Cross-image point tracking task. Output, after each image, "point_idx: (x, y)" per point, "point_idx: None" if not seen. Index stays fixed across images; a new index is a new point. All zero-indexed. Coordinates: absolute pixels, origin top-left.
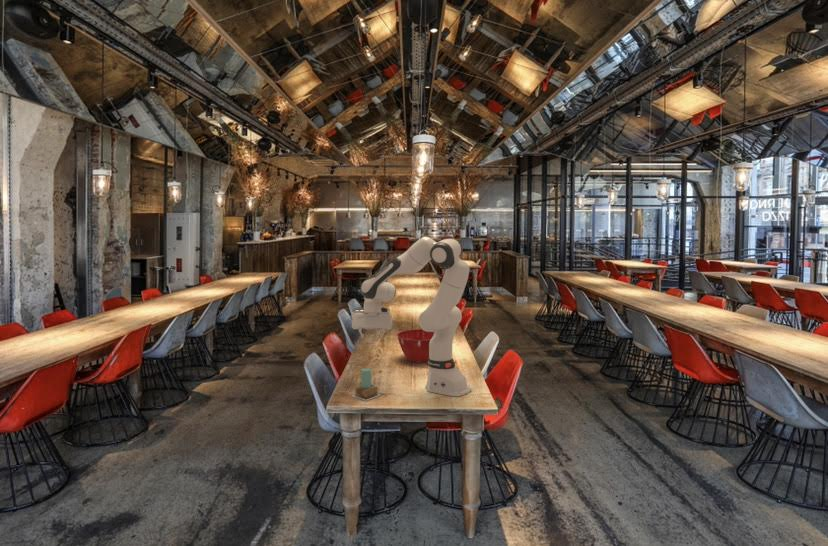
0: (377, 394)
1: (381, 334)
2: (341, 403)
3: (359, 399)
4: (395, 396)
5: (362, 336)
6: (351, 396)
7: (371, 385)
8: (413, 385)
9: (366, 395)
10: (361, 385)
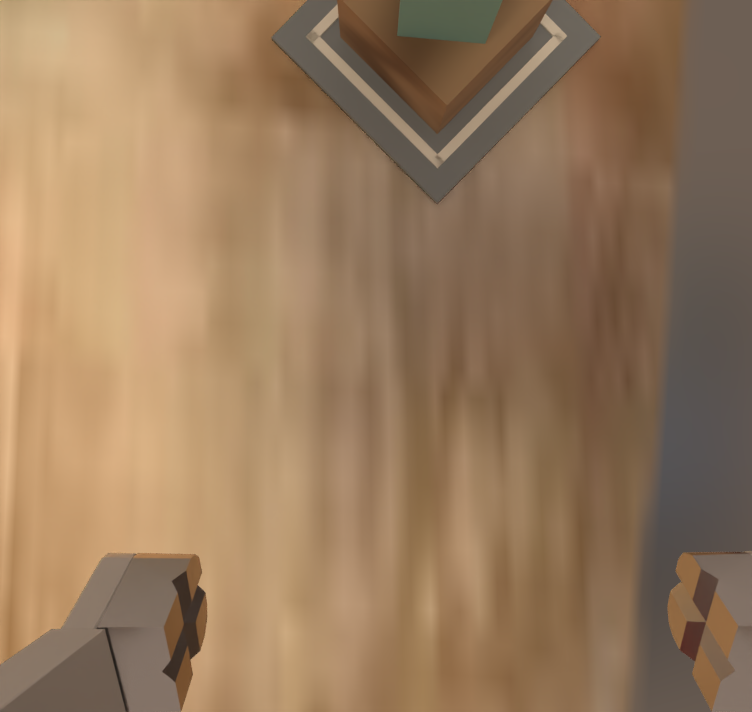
0: (338, 53)
1: (121, 617)
2: None
3: None
4: (179, 10)
5: (737, 562)
6: (566, 18)
7: (394, 35)
8: (5, 301)
9: None
10: (496, 42)
